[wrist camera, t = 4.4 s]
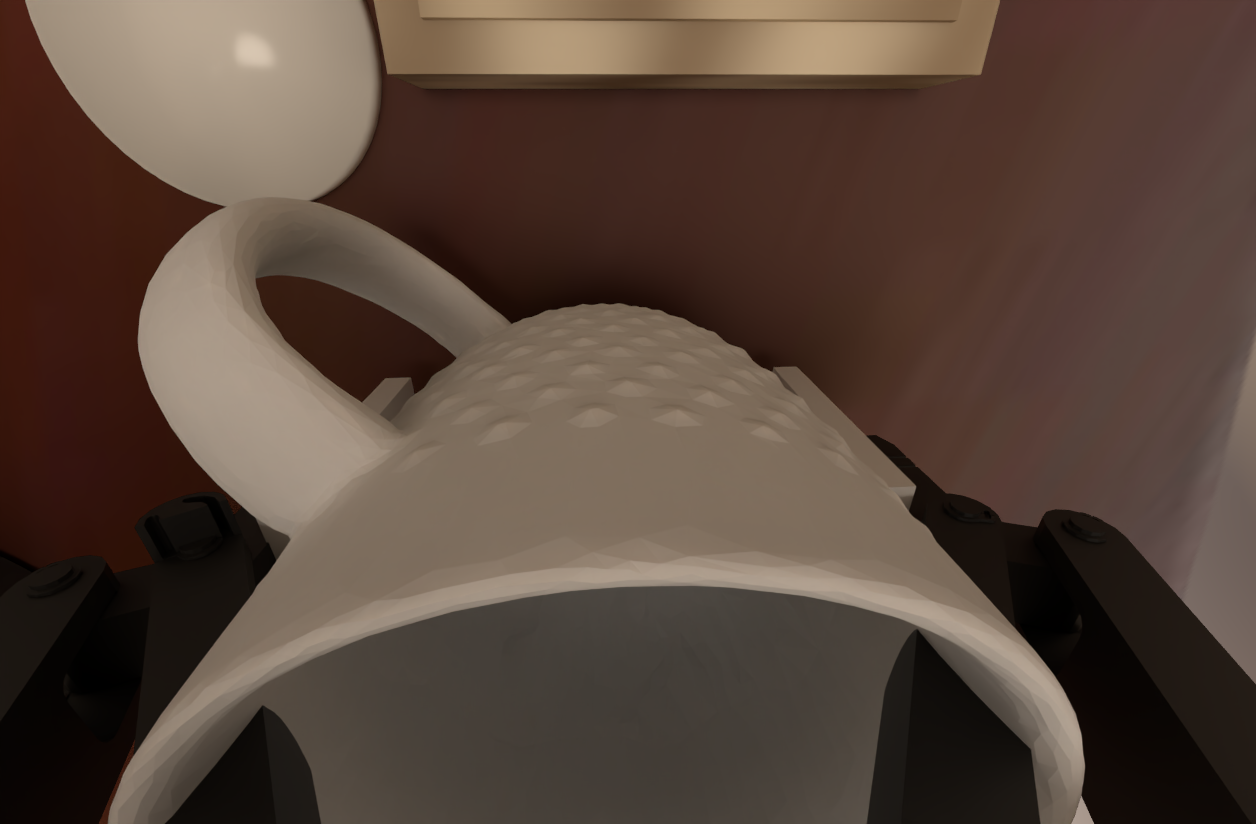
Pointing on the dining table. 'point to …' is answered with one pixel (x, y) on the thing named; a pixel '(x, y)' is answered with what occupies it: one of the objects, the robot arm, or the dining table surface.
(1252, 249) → the dining table surface
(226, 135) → the white oval dome
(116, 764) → the robot arm
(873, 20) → the base
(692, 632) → the mug
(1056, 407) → the dining table surface
